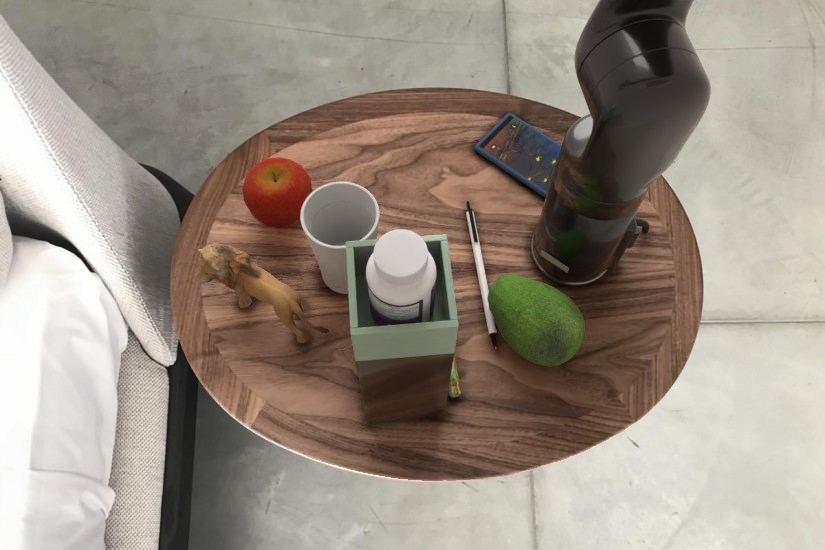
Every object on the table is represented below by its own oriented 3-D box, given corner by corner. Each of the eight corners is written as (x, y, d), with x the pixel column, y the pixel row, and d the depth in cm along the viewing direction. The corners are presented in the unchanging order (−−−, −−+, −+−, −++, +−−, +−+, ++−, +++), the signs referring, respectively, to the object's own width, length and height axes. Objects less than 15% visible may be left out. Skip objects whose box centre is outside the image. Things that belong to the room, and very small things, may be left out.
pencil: (429, 251, 84) (448, 398, 76) (429, 246, 84) (449, 395, 75) (440, 250, 85) (461, 397, 76) (440, 245, 84) (461, 394, 75)
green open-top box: (436, 342, 79) (446, 233, 58) (444, 415, 75) (459, 326, 54) (362, 349, 79) (345, 241, 58) (366, 422, 75) (350, 335, 54)
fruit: (570, 385, 77) (492, 324, 84) (612, 323, 76) (529, 267, 83) (538, 377, 70) (456, 312, 77) (583, 310, 69) (495, 250, 76)
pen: (471, 203, 87) (471, 198, 86) (499, 349, 79) (500, 346, 78) (463, 204, 87) (464, 199, 86) (491, 350, 79) (492, 347, 78)
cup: (374, 306, 81) (369, 254, 70) (306, 293, 82) (290, 240, 71) (389, 246, 85) (387, 188, 74) (323, 234, 85) (312, 175, 75)
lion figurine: (203, 303, 81) (180, 265, 73) (227, 265, 83) (208, 225, 75) (319, 353, 79) (309, 319, 71) (341, 312, 81) (333, 275, 73)
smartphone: (509, 110, 93) (606, 172, 89) (508, 114, 94) (605, 176, 89) (472, 146, 90) (570, 212, 86) (472, 150, 91) (569, 216, 87)
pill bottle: (397, 268, 62) (396, 207, 54) (446, 304, 61) (453, 247, 52) (356, 312, 60) (348, 256, 52) (405, 350, 59) (405, 300, 50)
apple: (239, 203, 87) (225, 165, 80) (296, 174, 89) (287, 134, 82) (270, 250, 84) (257, 214, 77) (328, 218, 86) (321, 181, 79)
